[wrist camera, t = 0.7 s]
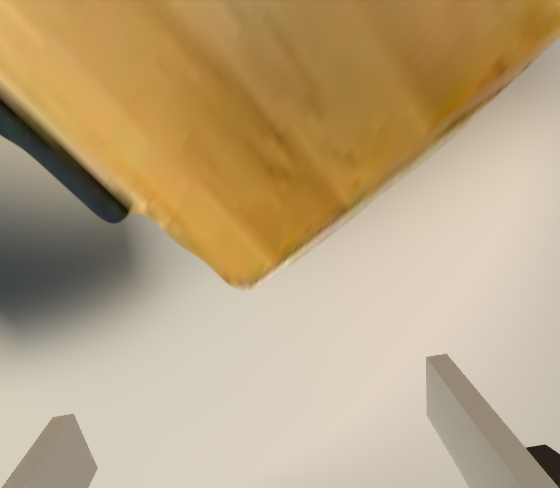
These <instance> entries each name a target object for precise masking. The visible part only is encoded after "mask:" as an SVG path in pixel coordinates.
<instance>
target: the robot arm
mask: <svg viewBox="0 0 560 488" xmlns="http://www.w3.org/2000/svg"><path fill="white" fill-rule="evenodd" d="M426 376H427V377H426V381H427V416H428V418H429V419H430V421H431V423H432V425H433V426H434V428H435V430H436V432H437V433H438V435H439V436H440V438H441V440H442V442H443V443H444V445H445V447H446V449H447V450H448V452H449V454H450V455H451V457H452V459H453V460H454V462H455V464H456V466H457V467H458V469H459V470H460V472H461V474H462V476H463V477H464V479H465V481H466V483H467V484H468V486H469V488H560V454H559V453H557V452H556V451H554V450H553V449H551V448H550V447H548V446H547V445H539V446H533V447H528V448H525V447H524V446H523V445H522V443H521V442H520V441H519V440H518V438H517V437H516V436H515V435H514V434H513V433H512V431H511V430H510V429H509V428H508V427H507V426H506V424H505V423H504V422H503V421H502V419H501V418H500V417H499V416H498V415H497V414H496V412H495V411H494V410H493V409H492V407H491V406H490V405H489V404H488V403H487V401H486V400H485V399H484V398H483V397H482V395H480V393H479V392H478V391H477V389H476V388H475V387H474V386H473V385H472V384H471V382H470V381H469V380H468V379H467V378H466V376H465V375H464V374H463V373H462V372H461V370H460V369H459V368H458V367H457V366H456V364H455V363H454V362H453V361H452V360H451V359H450V358H449V356H448V355H447V354H443V355H436V356H430V357H426ZM97 469H98V468H97V466H96V464H95V461H94V459H93V457H92V455H91V452H90V450H89V448H88V446H87V443H86V441H85V439H84V436H83V434H82V432H81V430H80V427H79V425H78V423H77V421H76V418H75V416H74V414H70V415H64V416H58V417H53V418H52V419H51V421H50V422H49V423H48V425H47V426H46V428H45V429H44V430H43V432H42V433H41V434H40V436H39V437H38V439H37V440H36V441H35V443H34V444H33V446H32V447H31V448H30V450H29V451H28V452H27V454H26V455H25V456H24V458H23V459H22V461H21V462H20V463H19V465H18V466H17V467H16V469H15V470H14V472H13V473H12V474H11V476H10V477H9V479H8V480H7V481H6V483H5V484H4V485H3V487H2V488H88V487H89V485H90V483H91V481H92V479H93V477H94V475H95V472H96V471H97Z"/></svg>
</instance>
